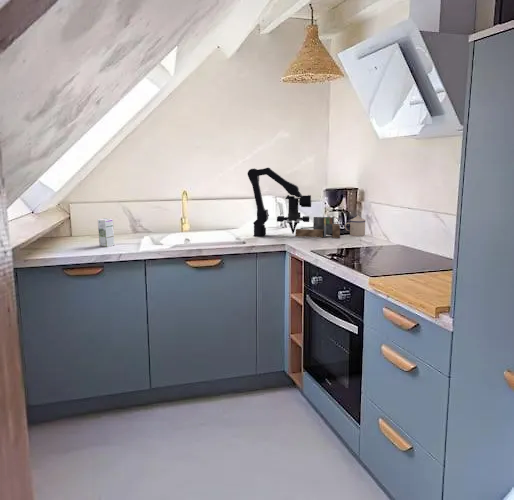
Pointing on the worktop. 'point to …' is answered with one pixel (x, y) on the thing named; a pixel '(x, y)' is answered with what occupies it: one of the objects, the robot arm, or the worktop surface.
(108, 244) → the syrup box
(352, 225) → the teacup with lid
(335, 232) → the gauge housing
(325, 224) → the gauge paddle
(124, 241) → the worktop surface
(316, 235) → the walnut bar
